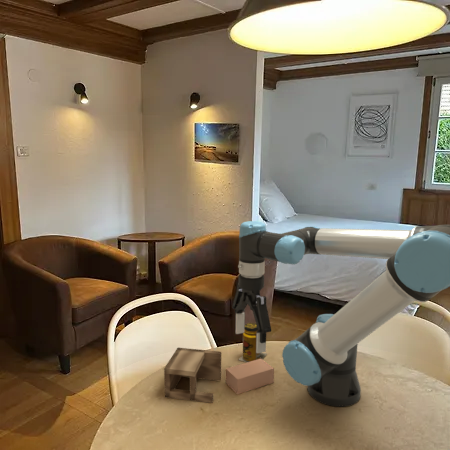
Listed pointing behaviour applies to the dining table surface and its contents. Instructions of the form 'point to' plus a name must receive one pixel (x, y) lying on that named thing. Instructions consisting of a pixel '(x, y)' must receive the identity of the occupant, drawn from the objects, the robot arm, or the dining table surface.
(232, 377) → the pink rectangular block
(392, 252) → the robot arm
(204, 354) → the dock
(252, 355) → the condiment
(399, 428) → the dining table surface
